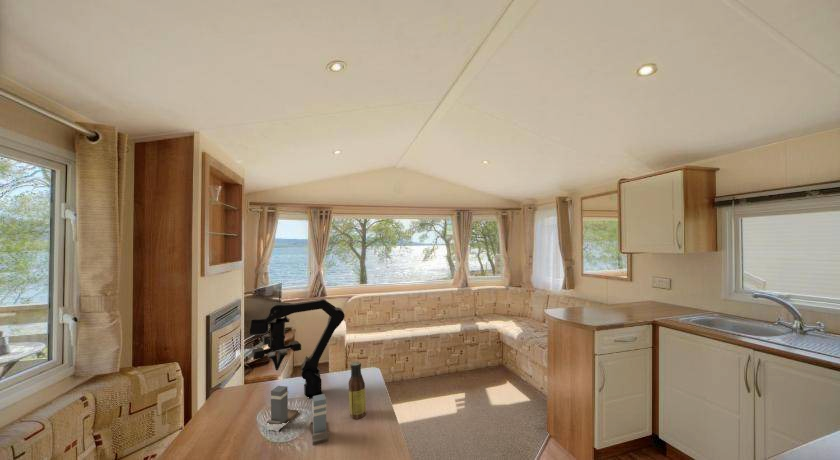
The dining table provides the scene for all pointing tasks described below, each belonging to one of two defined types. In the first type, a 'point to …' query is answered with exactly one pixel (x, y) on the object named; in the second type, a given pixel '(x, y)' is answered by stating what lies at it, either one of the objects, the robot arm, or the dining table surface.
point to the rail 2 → (319, 436)
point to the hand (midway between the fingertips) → (276, 369)
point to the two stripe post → (319, 413)
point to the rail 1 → (290, 415)
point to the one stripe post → (279, 404)
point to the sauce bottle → (357, 392)
